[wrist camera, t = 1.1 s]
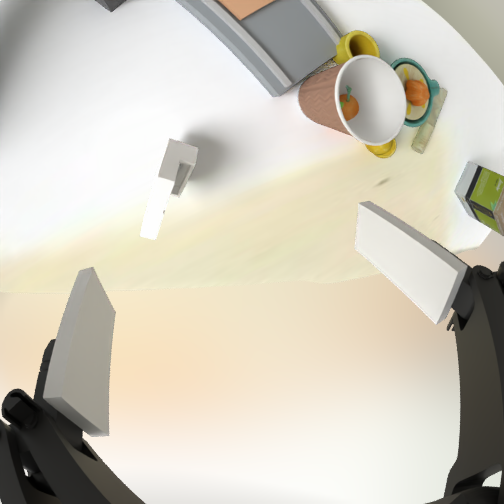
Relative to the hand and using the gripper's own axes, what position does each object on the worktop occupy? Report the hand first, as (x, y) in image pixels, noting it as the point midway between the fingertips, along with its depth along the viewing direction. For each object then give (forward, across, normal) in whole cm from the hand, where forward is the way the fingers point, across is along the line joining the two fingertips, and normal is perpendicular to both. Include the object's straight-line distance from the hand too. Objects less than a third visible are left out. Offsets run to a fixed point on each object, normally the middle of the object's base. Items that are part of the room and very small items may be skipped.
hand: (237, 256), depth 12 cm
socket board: (+25, +11, +20) cm, 34 cm away
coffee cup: (+24, +19, +6) cm, 31 cm away
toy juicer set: (+25, +33, +5) cm, 42 cm away
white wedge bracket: (+25, -3, -2) cm, 25 cm away
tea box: (+25, +67, -13) cm, 73 cm away
